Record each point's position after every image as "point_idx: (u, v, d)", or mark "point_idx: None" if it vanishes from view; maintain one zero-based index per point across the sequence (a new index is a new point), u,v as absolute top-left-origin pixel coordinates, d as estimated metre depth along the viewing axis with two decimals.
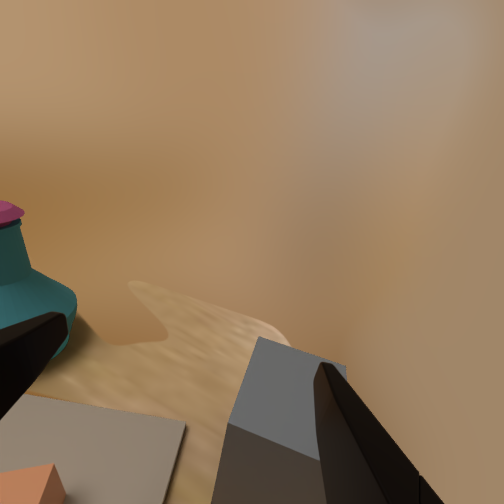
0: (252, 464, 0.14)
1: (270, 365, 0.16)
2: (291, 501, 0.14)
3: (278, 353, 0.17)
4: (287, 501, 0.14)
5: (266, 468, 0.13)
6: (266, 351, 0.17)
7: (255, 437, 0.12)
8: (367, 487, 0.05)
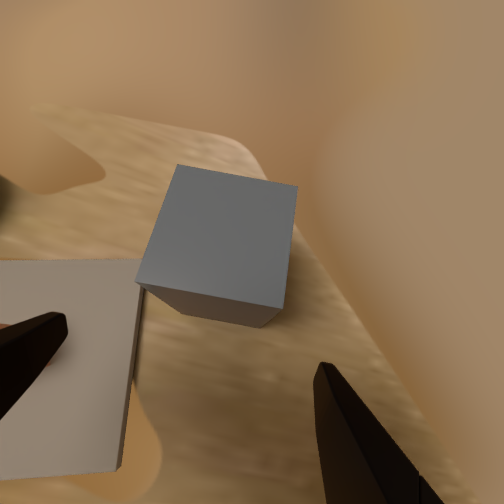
0: (188, 301, 0.13)
1: (192, 202, 0.12)
2: (237, 315, 0.15)
3: (205, 184, 0.12)
4: (234, 315, 0.15)
5: (202, 303, 0.13)
6: (187, 184, 0.12)
7: (171, 289, 0.11)
8: (367, 487, 0.05)
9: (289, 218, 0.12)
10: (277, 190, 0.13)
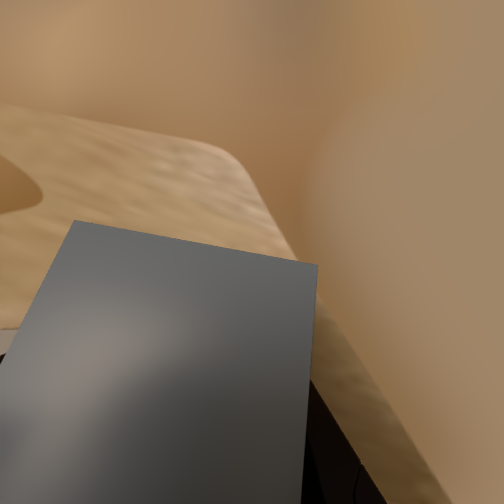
0: None
1: (92, 311, 0.05)
2: None
3: (125, 266, 0.06)
4: None
5: None
6: (89, 266, 0.06)
7: None
8: (308, 476, 0.05)
9: (302, 345, 0.06)
10: (276, 275, 0.06)
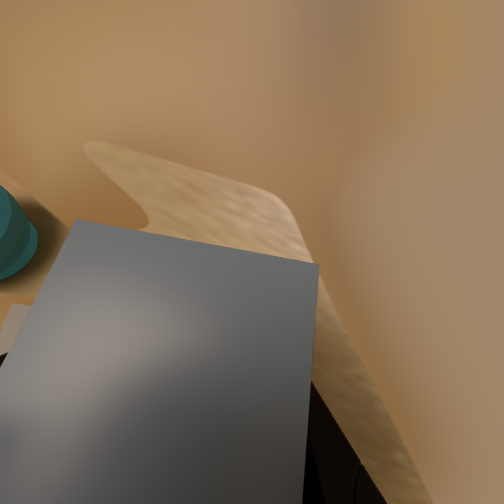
0: None
1: (94, 310, 0.06)
2: None
3: (127, 265, 0.06)
4: None
5: None
6: (90, 265, 0.06)
7: None
8: (308, 476, 0.05)
9: (303, 344, 0.06)
10: (278, 274, 0.06)
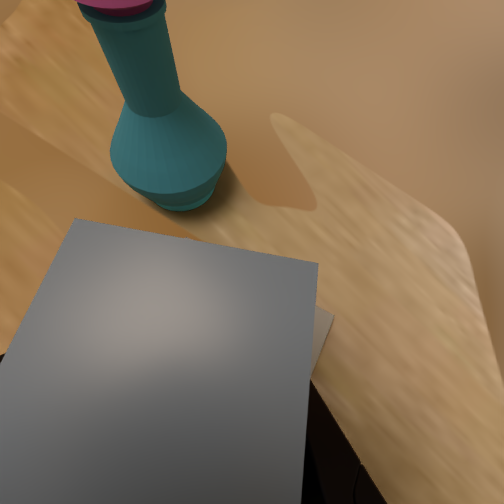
0: None
1: (92, 310, 0.05)
2: None
3: (126, 264, 0.06)
4: None
5: None
6: (89, 264, 0.06)
7: None
8: (308, 476, 0.05)
9: (302, 343, 0.06)
10: (277, 273, 0.06)
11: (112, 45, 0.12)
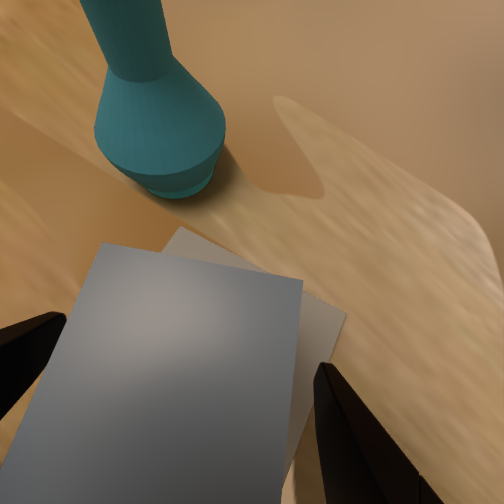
0: None
1: (119, 318, 0.07)
2: None
3: (145, 280, 0.07)
4: None
5: None
6: (115, 281, 0.07)
7: None
8: (367, 487, 0.05)
9: (287, 346, 0.07)
10: (268, 289, 0.07)
11: None
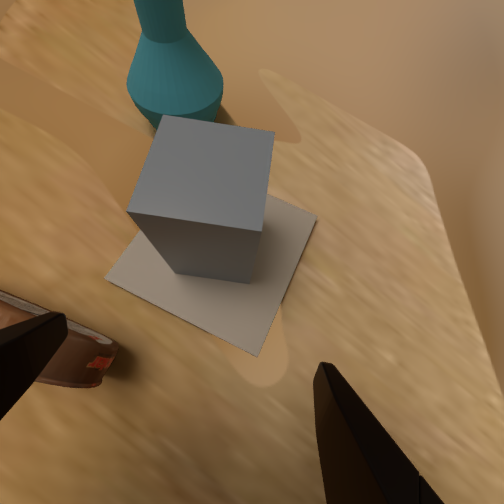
0: (178, 241, 0.14)
1: (177, 146, 0.13)
2: (225, 260, 0.16)
3: (189, 131, 0.13)
4: (222, 261, 0.16)
5: (190, 242, 0.14)
6: (173, 131, 0.13)
7: (160, 218, 0.12)
8: (367, 487, 0.05)
9: (266, 158, 0.13)
10: (256, 135, 0.14)
11: None
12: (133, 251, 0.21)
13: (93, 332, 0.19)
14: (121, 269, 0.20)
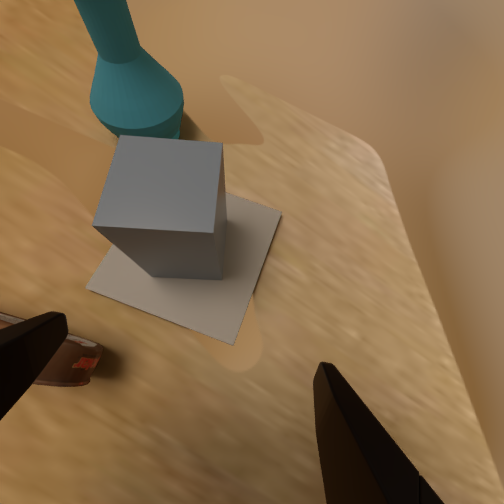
0: (145, 248, 0.16)
1: (135, 163, 0.15)
2: (192, 260, 0.18)
3: (144, 148, 0.15)
4: (190, 261, 0.18)
5: (156, 247, 0.15)
6: (130, 149, 0.15)
7: (123, 229, 0.13)
8: (367, 487, 0.05)
9: (216, 167, 0.15)
10: (205, 147, 0.15)
11: (86, 3, 0.17)
12: (111, 260, 0.22)
13: (79, 338, 0.20)
14: (100, 278, 0.22)
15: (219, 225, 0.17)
